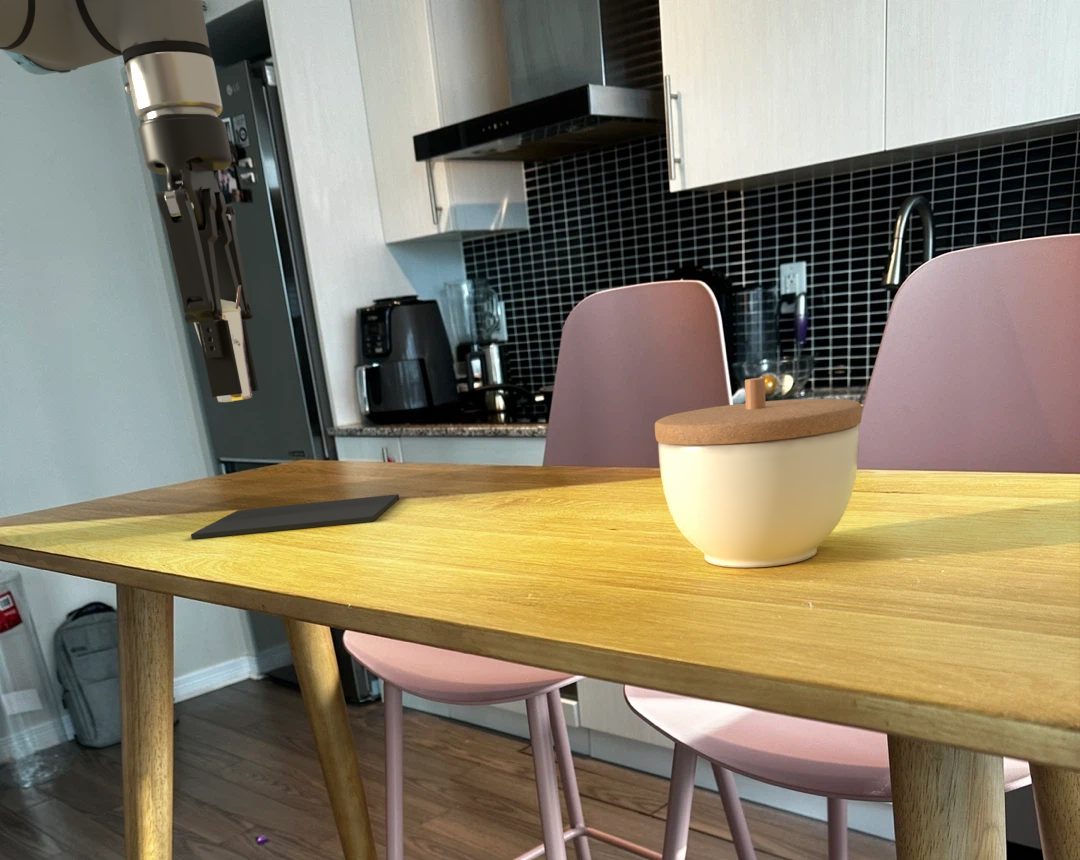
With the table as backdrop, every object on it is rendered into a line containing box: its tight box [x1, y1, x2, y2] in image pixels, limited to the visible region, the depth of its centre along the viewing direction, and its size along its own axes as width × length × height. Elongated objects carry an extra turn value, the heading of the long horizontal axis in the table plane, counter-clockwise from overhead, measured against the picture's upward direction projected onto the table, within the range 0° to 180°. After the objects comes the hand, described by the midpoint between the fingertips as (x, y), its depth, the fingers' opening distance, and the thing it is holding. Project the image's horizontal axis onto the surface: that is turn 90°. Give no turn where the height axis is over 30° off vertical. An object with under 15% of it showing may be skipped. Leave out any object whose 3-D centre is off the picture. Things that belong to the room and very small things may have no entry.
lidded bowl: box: [654, 377, 863, 569], centre depth 65 cm, size 13×13×11 cm
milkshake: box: [193, 285, 253, 403], centre depth 98 cm, size 5×5×10 cm
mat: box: [190, 493, 400, 540], centre depth 105 cm, size 18×14×1 cm
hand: (235, 393), depth 99 cm, fingers closed on milkshake, 4 cm apart
